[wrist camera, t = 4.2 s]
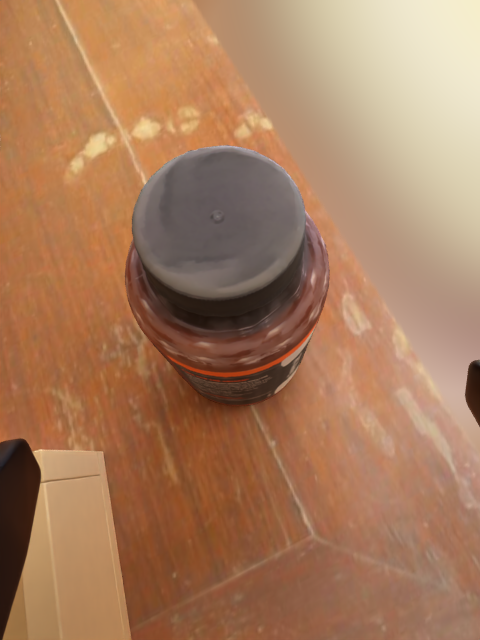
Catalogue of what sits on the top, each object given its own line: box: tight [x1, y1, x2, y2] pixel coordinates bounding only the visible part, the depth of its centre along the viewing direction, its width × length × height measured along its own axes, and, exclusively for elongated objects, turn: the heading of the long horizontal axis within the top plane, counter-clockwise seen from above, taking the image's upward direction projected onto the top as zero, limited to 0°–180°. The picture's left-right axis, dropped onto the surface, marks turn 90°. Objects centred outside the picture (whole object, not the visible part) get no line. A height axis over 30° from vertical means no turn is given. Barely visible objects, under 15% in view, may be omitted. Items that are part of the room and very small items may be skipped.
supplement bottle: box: [125, 145, 330, 406], centre depth 15 cm, size 6×6×11 cm
